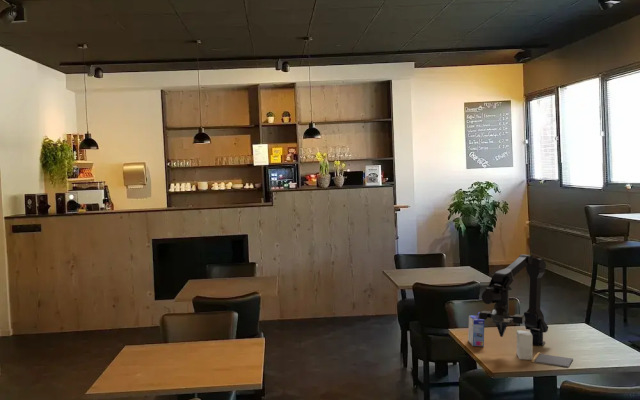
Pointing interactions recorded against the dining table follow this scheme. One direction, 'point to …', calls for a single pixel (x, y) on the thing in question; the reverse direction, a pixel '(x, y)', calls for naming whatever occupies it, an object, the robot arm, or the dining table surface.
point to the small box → (525, 345)
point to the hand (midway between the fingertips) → (501, 336)
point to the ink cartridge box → (476, 331)
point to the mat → (552, 360)
